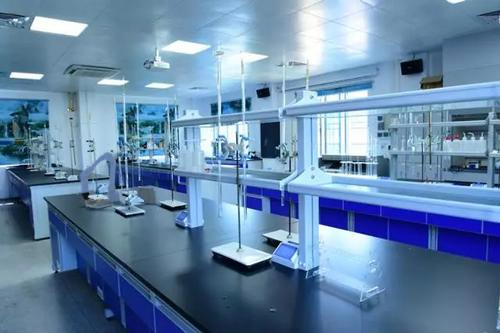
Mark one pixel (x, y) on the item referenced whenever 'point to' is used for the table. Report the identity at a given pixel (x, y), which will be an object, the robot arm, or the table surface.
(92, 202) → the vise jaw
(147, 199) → the geiger counter
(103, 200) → the brass block
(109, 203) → the vise bed
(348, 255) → the table surface
